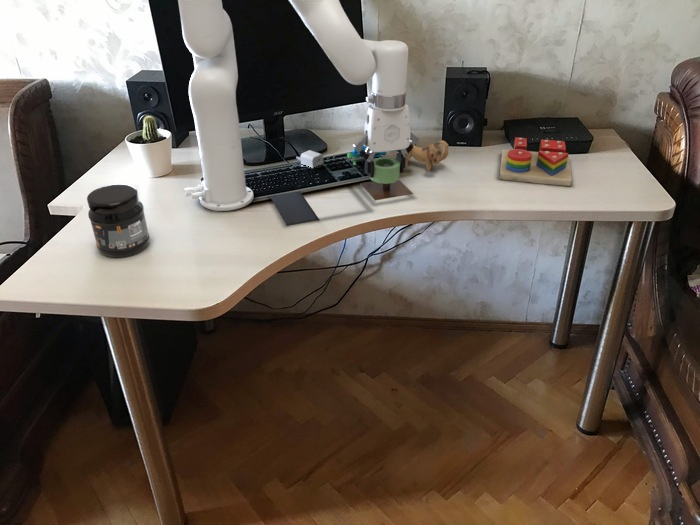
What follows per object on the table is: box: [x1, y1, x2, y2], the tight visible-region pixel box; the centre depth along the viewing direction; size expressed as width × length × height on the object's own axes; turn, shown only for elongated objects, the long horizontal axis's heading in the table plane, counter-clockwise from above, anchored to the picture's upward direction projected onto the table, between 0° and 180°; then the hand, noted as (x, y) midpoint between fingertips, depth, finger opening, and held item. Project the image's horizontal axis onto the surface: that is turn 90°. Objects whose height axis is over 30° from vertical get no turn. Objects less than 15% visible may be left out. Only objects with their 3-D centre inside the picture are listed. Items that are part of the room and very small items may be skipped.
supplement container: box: [86, 183, 151, 258], centre depth 121 cm, size 10×10×12 cm
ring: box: [369, 156, 401, 184], centre depth 142 cm, size 7×7×4 cm
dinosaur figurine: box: [346, 145, 387, 166], centre depth 157 cm, size 11×6×10 cm
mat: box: [269, 190, 320, 226], centre depth 140 cm, size 20×15×1 cm
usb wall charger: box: [295, 149, 324, 169], centre depth 157 cm, size 4×7×4 cm, turn 49°
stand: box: [359, 164, 414, 201], centre depth 143 cm, size 10×10×7 cm
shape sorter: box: [499, 136, 573, 187], centre depth 155 cm, size 18×17×6 cm
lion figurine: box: [405, 140, 450, 172], centre depth 154 cm, size 15×5×9 cm, turn 67°
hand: (384, 172), depth 142 cm, fingers closed on ring, 7 cm apart
